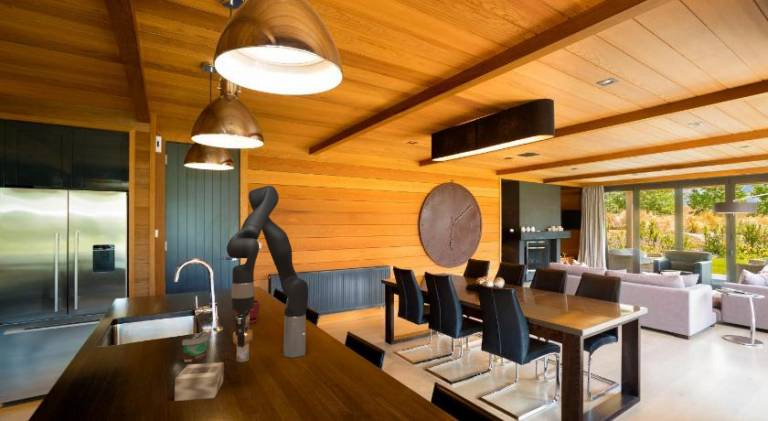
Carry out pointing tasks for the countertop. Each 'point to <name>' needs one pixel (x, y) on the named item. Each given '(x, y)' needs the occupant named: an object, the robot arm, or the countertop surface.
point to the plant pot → (253, 312)
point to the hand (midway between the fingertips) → (242, 342)
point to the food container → (195, 348)
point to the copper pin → (243, 351)
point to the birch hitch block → (199, 381)
